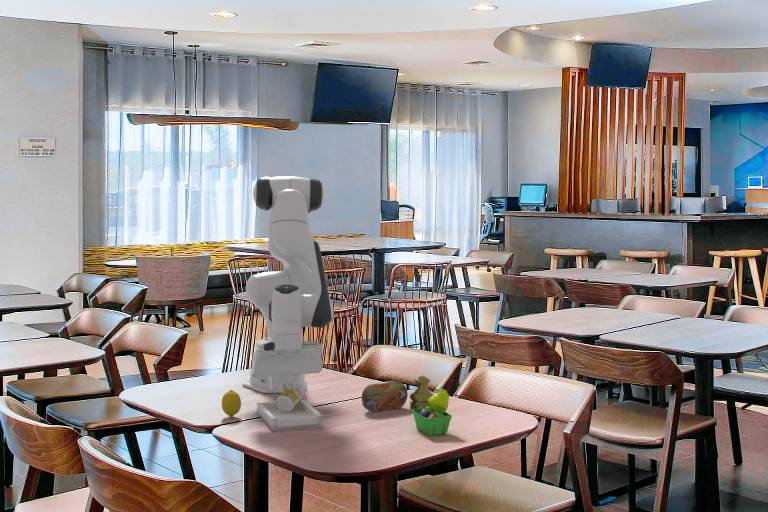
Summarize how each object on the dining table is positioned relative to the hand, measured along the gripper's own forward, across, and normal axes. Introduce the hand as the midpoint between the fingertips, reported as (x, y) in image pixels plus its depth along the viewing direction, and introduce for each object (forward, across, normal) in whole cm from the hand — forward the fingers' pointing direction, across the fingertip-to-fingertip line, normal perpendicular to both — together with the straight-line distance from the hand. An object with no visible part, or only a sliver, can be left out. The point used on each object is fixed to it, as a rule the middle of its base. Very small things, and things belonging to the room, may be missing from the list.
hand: (287, 390), depth 263 cm
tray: (+8, 0, +2) cm, 8 cm away
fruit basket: (+8, -34, +27) cm, 44 cm away
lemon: (+8, +15, -6) cm, 18 cm away
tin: (+8, -30, 0) cm, 31 cm away
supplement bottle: (+5, +1, -2) cm, 5 cm away
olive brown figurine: (+8, -40, +3) cm, 41 cm away
